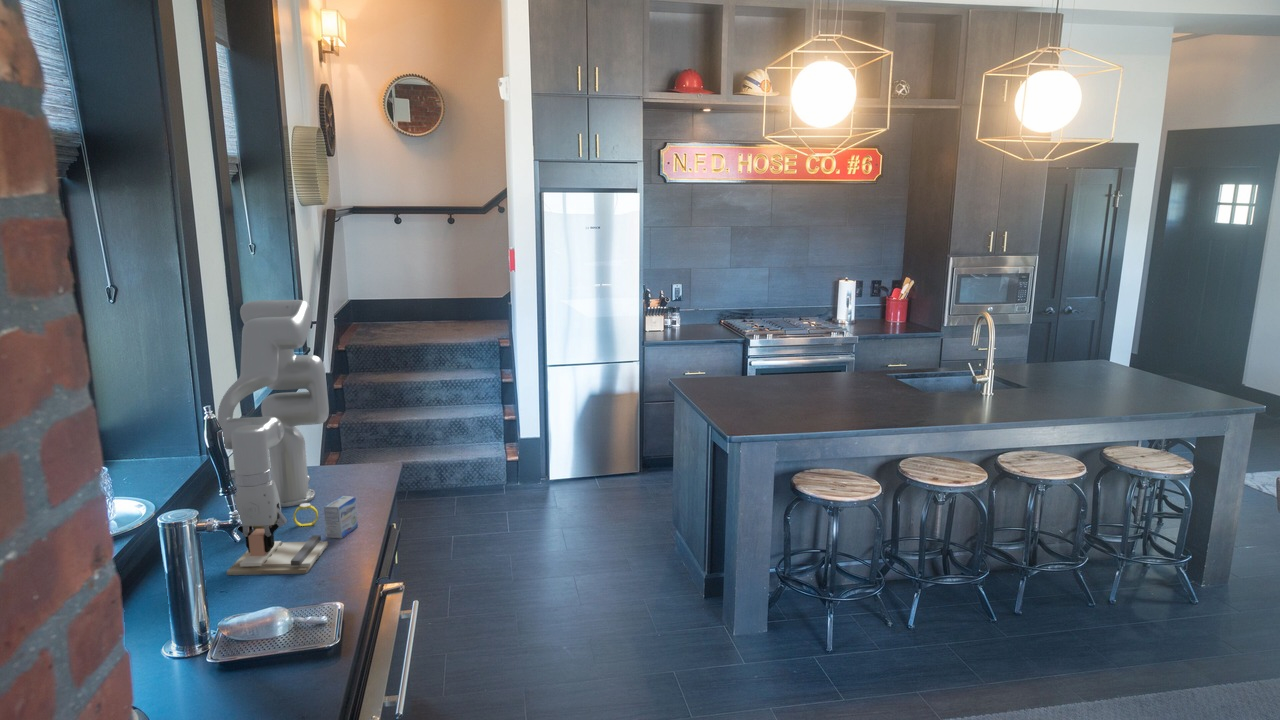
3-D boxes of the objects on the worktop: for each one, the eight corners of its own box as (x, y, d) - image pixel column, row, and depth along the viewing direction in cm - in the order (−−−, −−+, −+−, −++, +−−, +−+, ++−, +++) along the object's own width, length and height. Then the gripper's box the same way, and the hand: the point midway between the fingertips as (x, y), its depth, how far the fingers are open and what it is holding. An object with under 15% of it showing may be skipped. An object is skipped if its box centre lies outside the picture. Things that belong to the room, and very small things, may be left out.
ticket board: (255, 546, 196) (253, 535, 196) (330, 545, 197) (329, 534, 197) (227, 575, 182) (225, 563, 181) (308, 573, 183) (307, 561, 182)
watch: (318, 523, 212) (318, 502, 211) (317, 527, 209) (317, 506, 208) (294, 524, 210) (294, 503, 209) (293, 528, 207) (293, 507, 206)
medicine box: (341, 539, 201) (339, 507, 199) (325, 538, 202) (323, 506, 200) (358, 527, 209) (356, 496, 207) (343, 525, 209) (340, 495, 208)
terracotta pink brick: (261, 544, 195) (259, 522, 194) (281, 543, 195) (279, 522, 194) (240, 566, 183) (237, 543, 182) (261, 566, 183) (258, 543, 182)
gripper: (210, 483, 181) (218, 557, 185) (282, 482, 182) (289, 556, 186) (225, 472, 188) (233, 543, 192) (295, 471, 189) (301, 542, 193)
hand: (260, 549), depth 189 cm, fingers closed on terracotta pink brick, 3 cm apart
